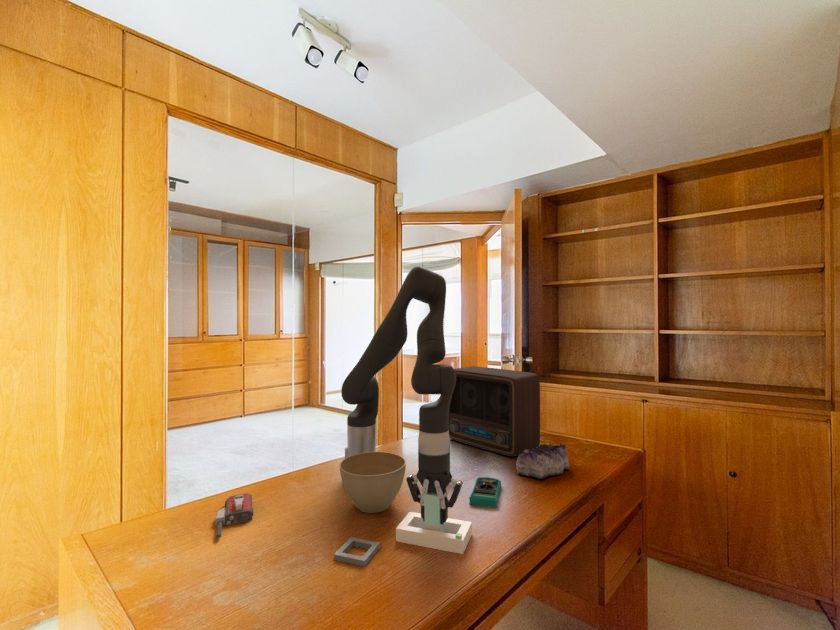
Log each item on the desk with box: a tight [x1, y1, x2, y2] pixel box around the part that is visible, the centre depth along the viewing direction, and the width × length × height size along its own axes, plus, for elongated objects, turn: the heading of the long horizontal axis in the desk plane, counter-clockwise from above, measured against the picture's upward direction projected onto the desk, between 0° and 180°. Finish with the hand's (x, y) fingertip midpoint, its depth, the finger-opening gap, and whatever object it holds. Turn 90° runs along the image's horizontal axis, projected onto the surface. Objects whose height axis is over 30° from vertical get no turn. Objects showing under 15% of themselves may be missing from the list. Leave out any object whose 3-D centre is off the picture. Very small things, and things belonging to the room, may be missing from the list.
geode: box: [515, 443, 570, 480], centre depth 141 cm, size 20×12×10 cm, turn 123°
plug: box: [424, 492, 444, 532], centre depth 100 cm, size 4×4×10 cm
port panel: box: [395, 511, 473, 555], centre depth 100 cm, size 16×9×4 cm, turn 70°
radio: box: [449, 365, 541, 458], centre depth 169 cm, size 36×18×30 cm, turn 43°
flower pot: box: [339, 451, 407, 514], centre depth 116 cm, size 18×18×12 cm
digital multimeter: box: [468, 476, 502, 508], centre depth 123 cm, size 8×15×3 cm, turn 164°
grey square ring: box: [333, 536, 381, 567], centre depth 93 cm, size 7×7×1 cm
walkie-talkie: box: [215, 493, 254, 539], centre depth 109 cm, size 9×4×20 cm
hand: (434, 521), depth 100 cm, fingers closed on plug, 3 cm apart
